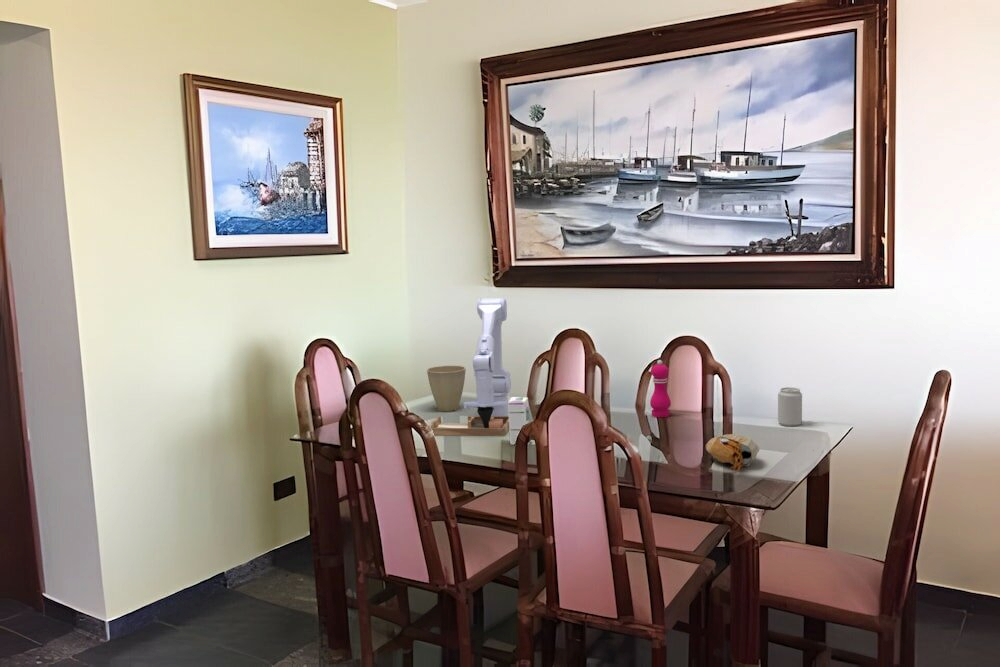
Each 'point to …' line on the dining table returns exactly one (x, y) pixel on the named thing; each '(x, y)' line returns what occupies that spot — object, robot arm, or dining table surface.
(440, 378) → the plant pot
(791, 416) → the can
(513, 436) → the syrup box
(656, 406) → the pepper mill
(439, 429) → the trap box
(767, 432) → the dining table surface
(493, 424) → the coral block
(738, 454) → the nautilus
